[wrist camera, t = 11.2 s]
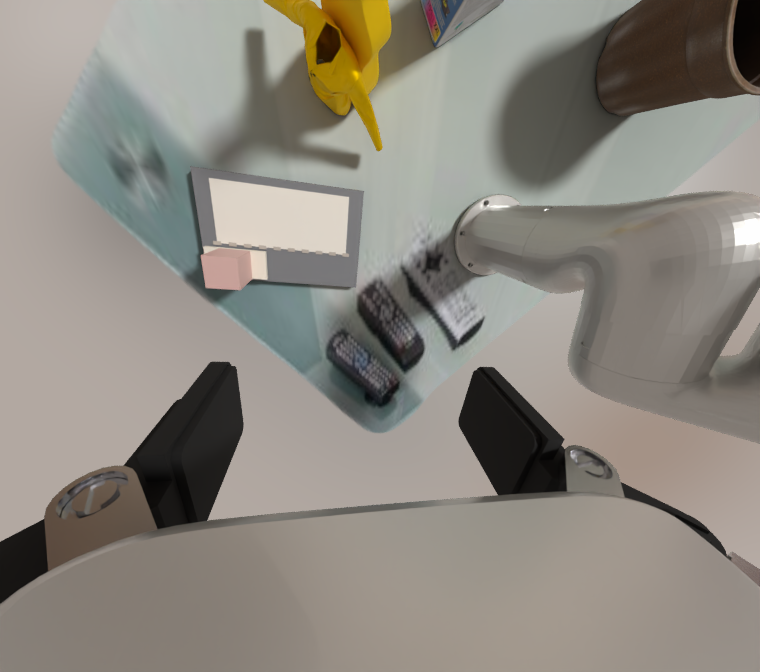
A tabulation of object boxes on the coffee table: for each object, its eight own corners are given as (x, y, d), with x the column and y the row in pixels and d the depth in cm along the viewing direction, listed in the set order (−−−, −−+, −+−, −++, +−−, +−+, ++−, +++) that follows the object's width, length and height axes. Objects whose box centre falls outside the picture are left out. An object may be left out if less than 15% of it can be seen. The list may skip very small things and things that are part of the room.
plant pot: (674, -64, 33) (938, -271, 19) (700, 67, 40) (908, -10, 25) (563, 54, 36) (715, -44, 22) (604, 157, 43) (741, 134, 29)
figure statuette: (258, 29, 31) (131, -279, 11) (304, -35, 29) (250, -520, 10) (366, 166, 38) (404, 125, 19) (407, 120, 37) (494, 24, 17)
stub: (266, 251, 39) (254, 259, 33) (267, 278, 41) (257, 291, 35) (205, 245, 38) (181, 253, 31) (209, 274, 39) (187, 286, 33)
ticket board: (362, 191, 39) (363, 191, 38) (355, 285, 45) (356, 287, 44) (195, 167, 35) (189, 166, 34) (211, 274, 41) (206, 277, 39)
